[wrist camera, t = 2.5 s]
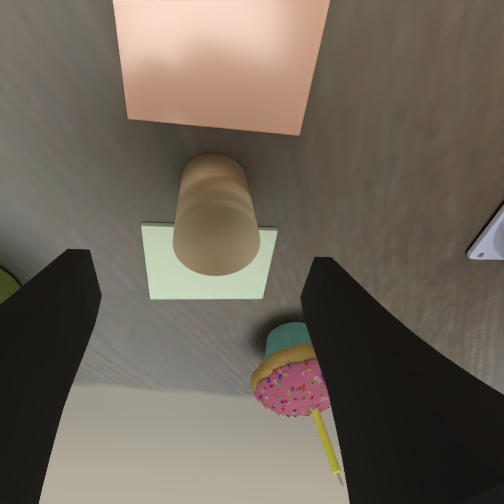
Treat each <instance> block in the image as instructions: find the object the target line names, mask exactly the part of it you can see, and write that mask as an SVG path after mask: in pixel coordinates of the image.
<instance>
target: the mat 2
mask: <svg viewBox="0 0 504 504" xmlns="http://www.w3.org/2000/svg"><path fill="white" fill-rule="evenodd" d="M174 226H175V224H173V223H148V222H142V225H141V228H142V236H143V244H144V252H145V260H146V268H147V276H148V284H149V292H150V299H262V298H263V294H264V289H265V285H266V281H267V276H268V272H269V267H270V263H271V258H272V254H273V250H274V245H275V241H276V236H277V232H278V230H277V228H273V227H258V230H259V234H260V248H259V251H258V253H257V255H256V257H255V258H254V260H253V261H252V262H251V263H250V264H249V265H248V266H246V267H245V268H243V269H242V270H240V271H238V272H235V273H232V274H229V275H224V276H208V275H202V274H199V273H196V272H194V271H192V270H190V269H188V268H187V267H185V266H184V265H183V264H182V263H181V262H180V261H179V260H178V258H177V257H176V255H175V253H174V250H173V244H172V242H173V233H174Z"/></svg>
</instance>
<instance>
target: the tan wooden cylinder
mask: <svg viewBox="0 0 504 504" xmlns="http://www.w3.org/2000/svg"><path fill="white" fill-rule="evenodd" d="M172 244H173V250H174V253H175V255H176V257H177V258H178V260H179V261H180V262H181V263H182V264H183V265H184V266H185V267H187V268H188V269H190V270H192V271H194V272H196V273H199V274H202V275H208V276H224V275H229V274H232V273H235V272H238V271H240V270H242V269H243V268H245V267H246V266H248V265H249V264H250V263H251V262H252V261H253V260H254V258H255V257H256V255H257V253H258V251H259V248H260V234H259V230H258V226H257V221H256V217H255V213H254V208H253V204H252V200H251V196H250V191H249V187H248V183H247V179H246V175H245V172H244V170H243V168H242V167H241V165H240V164H239V163H238V162H237V161H236V160H235V159H233V158H232V157H230V156H228V155H226V154H223V153H217V152H209V153H204V154H201V155H198V156H196V157H195V158H193V159H192V160H191V161H190V162H189V163H188V164H187V165H186V166H185V168H184V170H183V173H182V176H181V183H180V190H179V197H178V204H177V211H176V218H175V226H174V233H173V242H172Z"/></svg>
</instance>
